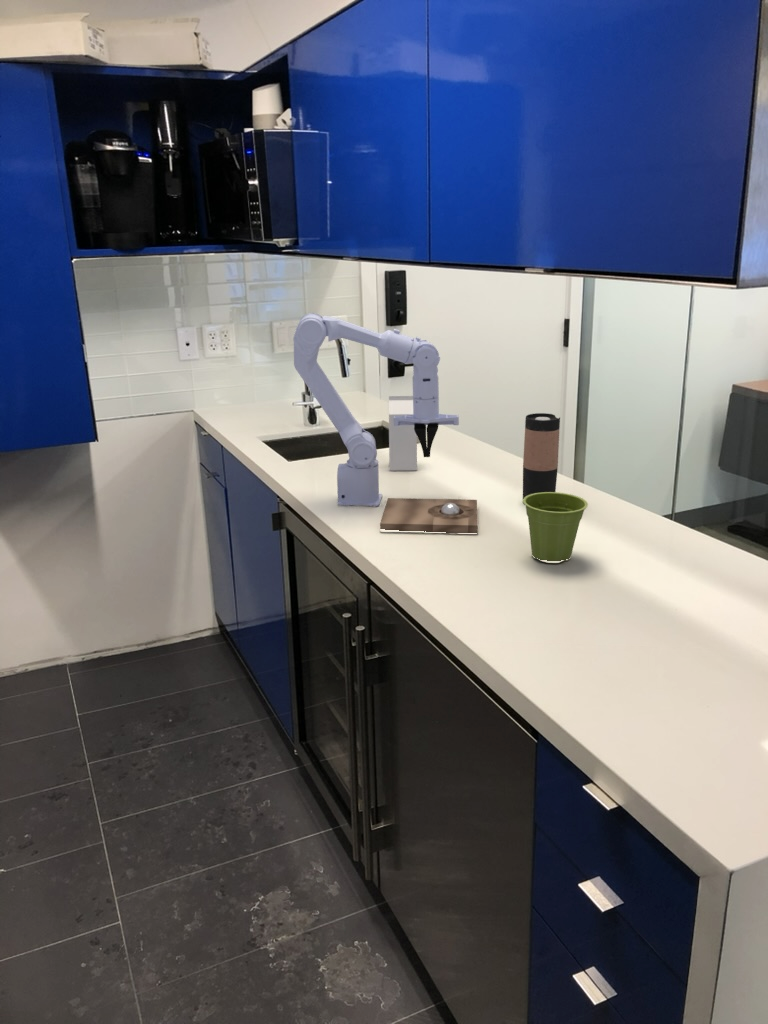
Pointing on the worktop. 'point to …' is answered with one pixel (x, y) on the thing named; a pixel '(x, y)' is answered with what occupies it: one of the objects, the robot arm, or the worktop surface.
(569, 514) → the plant pot
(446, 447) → the worktop surface
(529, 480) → the travel mug
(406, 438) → the milk carton
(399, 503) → the deck
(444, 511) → the ball
